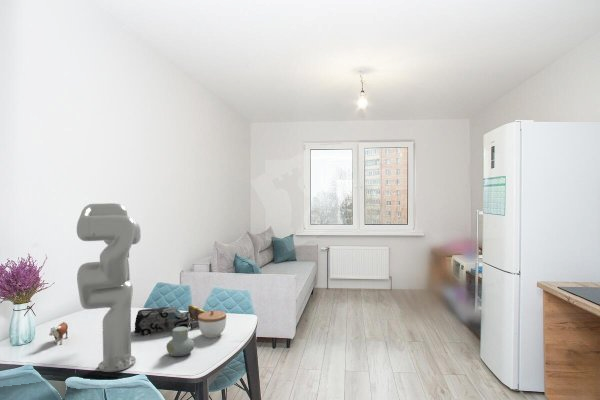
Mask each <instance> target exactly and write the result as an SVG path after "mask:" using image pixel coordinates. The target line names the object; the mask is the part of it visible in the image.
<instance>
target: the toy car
mask: <svg viewBox="0 0 600 400" xmlns="http://www.w3.org/2000/svg"><path fill="white" fill-rule="evenodd" d="M183 312H184V313H183ZM183 312H181V311H180V310H178V309H177V308H176V307H175V306H169V307H168V306H166V307H165V306H162V307H154V308H152V307H151V308H144V309H139V310H138V311H137V313H136V317H135V320H134V321H135V322H134V331H133V333H134V334H140V333H141V336H143V337H144V336H150V335H151V334H152V333H154V332H155V333H156V332H162V331H172V330H173V329H174V328H176V327H187V328H188V329H189V328H191V318H190V313H188V311H183Z"/></svg>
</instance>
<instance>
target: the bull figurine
mask: <svg viewBox="0 0 600 400" xmlns="http://www.w3.org/2000/svg"><path fill="white" fill-rule="evenodd" d="M68 329H69V328H68V324H67V323H66V322H65V321H62V322H61V323H60V324H58V326H56V327H55V326H54V327H52V328H50V332H49V334H48V336H51V337H52V336H53V337H54V340H55V342H54V345H57V344H58V342H59V346H60V345H62V346H63V337H64V335H65V339H68V338H69V336H68Z"/></svg>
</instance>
